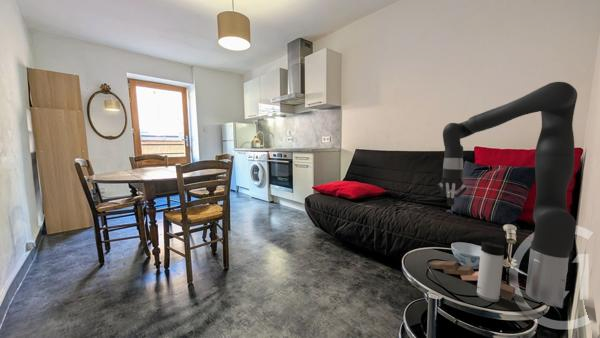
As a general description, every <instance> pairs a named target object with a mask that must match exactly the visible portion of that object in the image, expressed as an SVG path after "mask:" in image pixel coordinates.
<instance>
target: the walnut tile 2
mask: <svg viewBox="0 0 600 338" xmlns="http://www.w3.org/2000/svg"><path fill="white" fill-rule="evenodd" d="M474 270H475V269H473V267H467V266H463V265H458V267H457V268H456V269H455V270H452V269H442V271H443V273H444V274H447V275H449V274H450V275H459V276H460V275H471V274H472V273H473V272H475V271H474Z"/></svg>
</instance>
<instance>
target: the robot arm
mask: <svg viewBox="0 0 600 338" xmlns="http://www.w3.org/2000/svg"><path fill="white" fill-rule="evenodd" d="M577 99H578V91H577V89H576V88H575V87H574V86H573V85H572V84H570V83H568V82H566V81H553V82H549V83H547V84H546V85H543V86H541V87H539V88H537V89H535V90H533V91H532V92H530V93H528V94H526V95H523V96H522V97H519V98H517V99H515V100H512V101H510V102H508V103H506V104H503V105H500V106H497V107H495V108H491V109H489V110H487V111H483V112H481V113H478V114H475V115H474V116H471V117H469V118H468V120H465V121H462V122H459V123H456V122H450V123H447V124H446V125H445V126H444V128H443V131H442V139H443V145H444V153H443V154H444V156H443V157H444V158H443V163H442V179H441V180H440V183H437V184H436V185H435V187H436V188H437V190H438V191H439V192H440V194H441V195H442V196H445V198H446V205H447V206H449V207H453V206H455V204H456V198H461V196H462V195H464V194H465V192H466V191H468V190H469V189H470V188H469V187H468V186H466V185H465V183H464V181H463V174H464V173H463V172H464V159H463V158H464V147H463V145H462V144H461V139H465V138H467V137H470V136H471V135H474V134H476V133H480V132H483V131H486V130H490V129H492V128H495V127H499V126H500V125H502V124H503V125H504V124H505V123H507V122H510V121H512V120H514V119H517V118H519V117H523V116H525V115H529V114H533V113H534V114H535V113H537V112H540V116H541V129H540V133H539V136H538V140H537V143H536V147H535V153H534V154H535V155H534V171H535V173H534V175H535V176H534V177H535V184H536V195H535V202H534V208H533V212H532V219H533V222H534V223H535V224H534V225H535V227H534V233H533V238H532V240H531V241H530V248H529V257H528V259H529V260H528V268H527V277H526V286H525V294H526V296H528V297H529V298H530V299H532V300H534V301H536V302H537V303H540V302H543V303H546V304H547V305H546V304H545V305H546V306H549V307H554V308H555V307H556V308H559V309H563V307H564V299H565V294H566V293H565V292H566V283H567V276H568V275H567V273H568V267H569V261H570V260H569V259H570V253H571V251H572V249H573V247H574V241H575V237H576V229H577V223H576V219H575V218H574V216H573V215H572V214H571V213H569V212H568V207H567V206H568V205H567V192H568V191H567V190H568V188H569V185H570V182H571V179H572V177H573V174H574V171H575V152H576V151H575V136H574V130H573V129H574V128H573V122H574V116H575V110H576V109H575V108H576V104H577ZM459 189H461V190H460V191H459ZM457 192H458V193H457ZM543 303H542V304H543Z"/></svg>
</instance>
